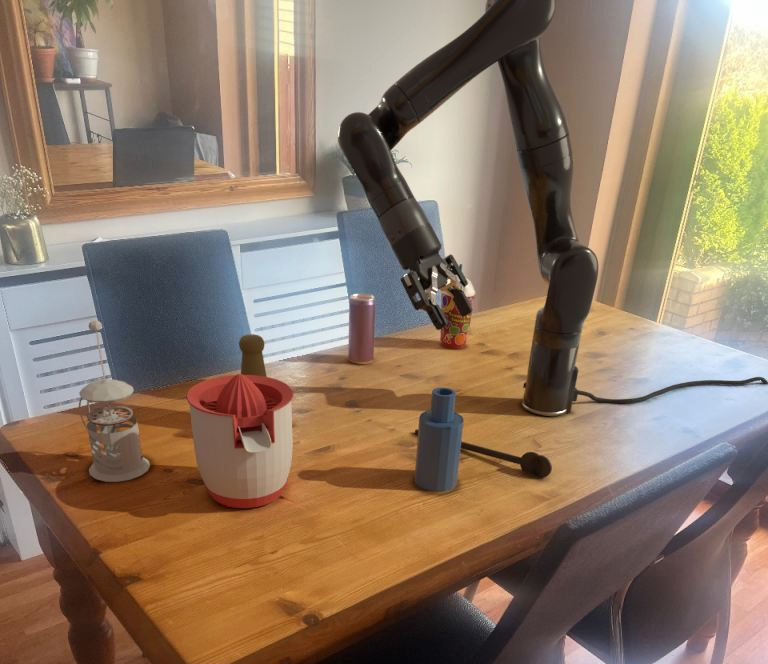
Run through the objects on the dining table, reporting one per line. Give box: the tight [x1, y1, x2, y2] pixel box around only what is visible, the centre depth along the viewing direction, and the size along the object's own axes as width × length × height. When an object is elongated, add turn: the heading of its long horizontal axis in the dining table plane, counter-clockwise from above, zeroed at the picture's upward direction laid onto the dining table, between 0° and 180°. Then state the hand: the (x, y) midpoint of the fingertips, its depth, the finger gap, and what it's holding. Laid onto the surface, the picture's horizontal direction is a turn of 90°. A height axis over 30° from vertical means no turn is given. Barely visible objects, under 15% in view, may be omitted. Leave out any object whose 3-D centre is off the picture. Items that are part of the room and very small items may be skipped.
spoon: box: [414, 428, 553, 479], centre depth 129 cm, size 1×4×28 cm
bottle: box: [414, 387, 465, 493], centre depth 116 cm, size 7×7×16 cm
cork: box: [238, 333, 268, 377], centre depth 151 cm, size 6×6×11 cm
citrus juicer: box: [186, 373, 294, 509], centre depth 110 cm, size 16×17×20 cm
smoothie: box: [439, 263, 477, 350], centre depth 177 cm, size 8×8×20 cm
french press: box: [78, 319, 151, 483], centre depth 115 cm, size 10×12×25 cm
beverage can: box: [347, 293, 376, 365], centre depth 166 cm, size 6×6×15 cm
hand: (455, 320), depth 123 cm, fingers open, 8 cm apart
